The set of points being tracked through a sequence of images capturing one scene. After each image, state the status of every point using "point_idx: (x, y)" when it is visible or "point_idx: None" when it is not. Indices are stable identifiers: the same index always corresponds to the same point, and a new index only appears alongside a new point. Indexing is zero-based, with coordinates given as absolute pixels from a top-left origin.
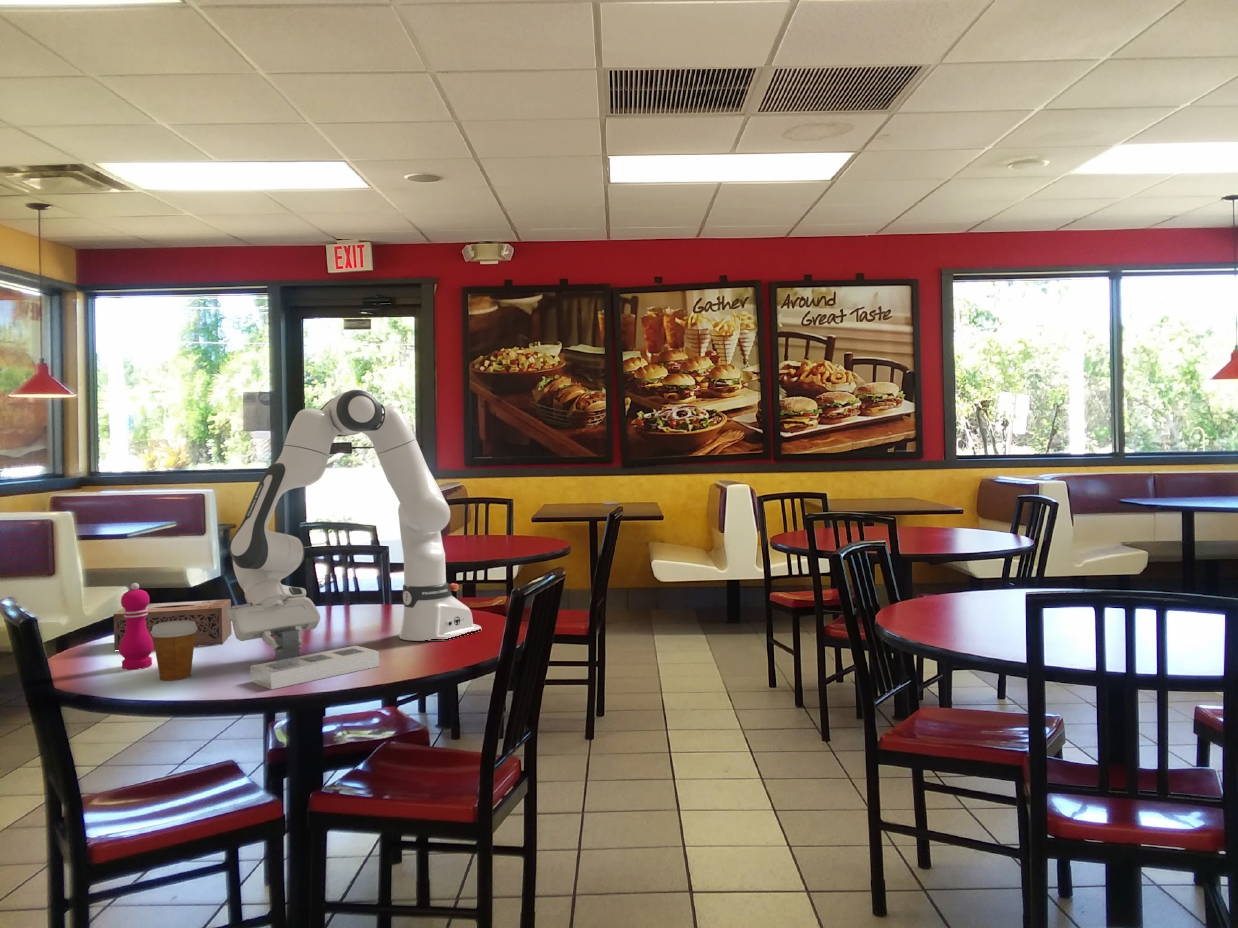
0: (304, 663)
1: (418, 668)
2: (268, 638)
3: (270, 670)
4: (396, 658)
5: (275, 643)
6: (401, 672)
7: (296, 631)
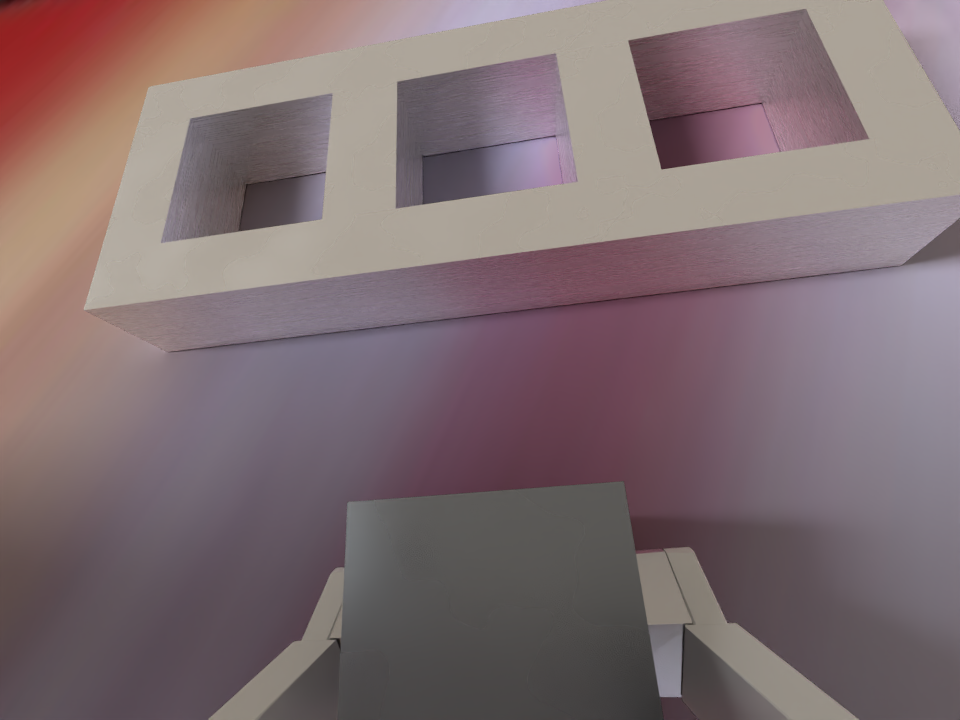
0: (597, 54)
1: (158, 41)
2: (803, 686)
3: (847, 5)
4: (53, 241)
5: (683, 573)
6: (236, 24)
7: (383, 500)
